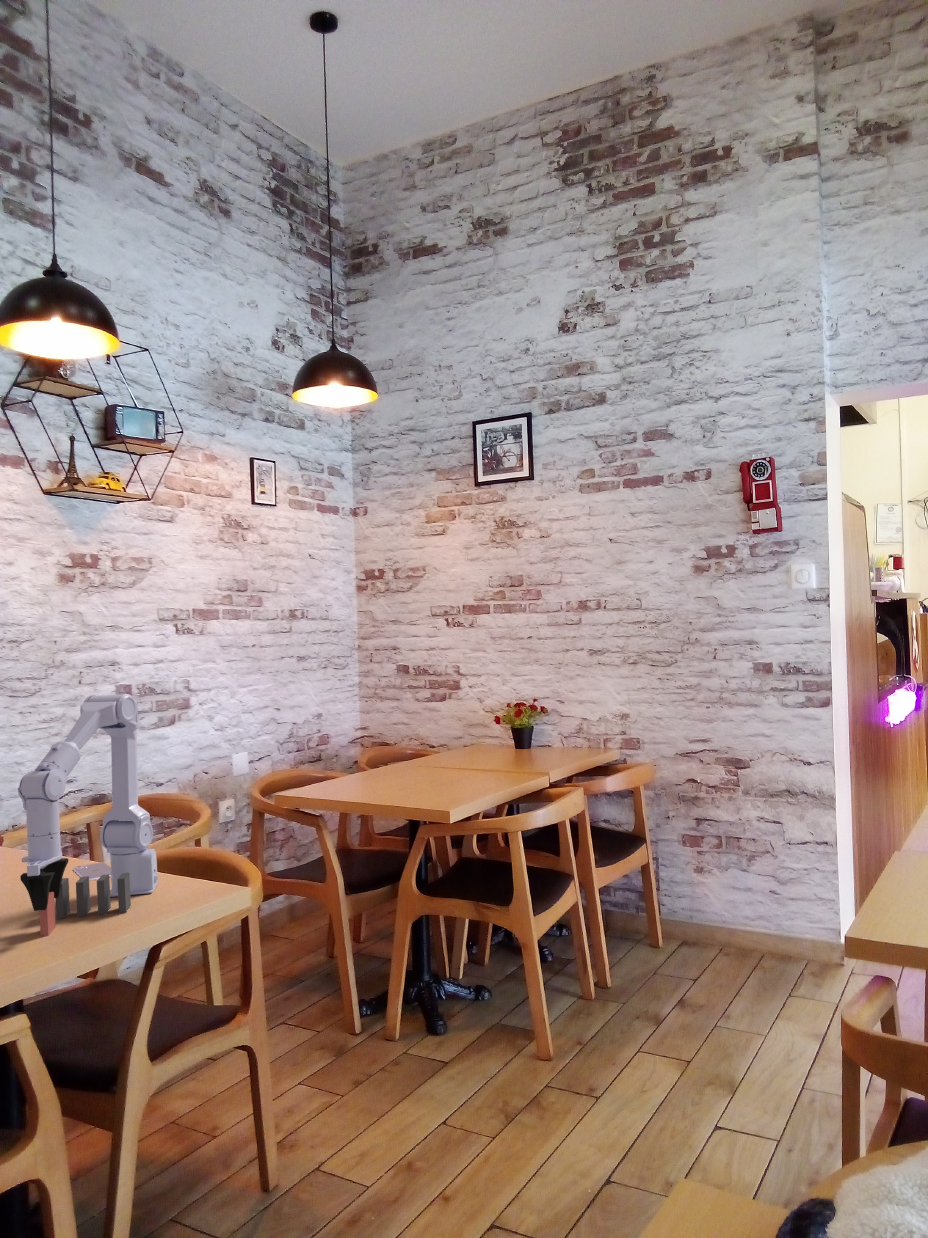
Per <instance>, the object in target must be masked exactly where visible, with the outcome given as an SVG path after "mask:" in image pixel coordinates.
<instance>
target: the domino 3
mask: <svg viewBox="0 0 928 1238" xmlns="http://www.w3.org/2000/svg"><path fill="white" fill-rule="evenodd" d="M110 880H111V879H110V877H109V874H108V875H102V876H101V877H100V878H99V879H98V880H96V893H97V894H96V896H97V915H99V916H106V915H107V914H108V912H109V911H110V910H109V909H111V897H110V890H111V883H110ZM108 910H109V911H108ZM106 913H107V914H106ZM105 914H106V915H105Z"/></svg>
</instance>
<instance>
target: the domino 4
mask: <svg viewBox="0 0 928 1238" xmlns="http://www.w3.org/2000/svg"><path fill="white" fill-rule="evenodd" d="M117 883H118V896H117V900H118V903H117V904H118V905H117V906H118V914H119V913H120V914H126V913H127V912H128V911H129V910H130V909H131V907H132V903H131V902H132V901H131V895H130V876H129V873H122V874H121V875H120V877H119V878H118V879H117ZM130 906H131V907H130ZM128 909H129V910H128ZM127 910H128V911H127Z"/></svg>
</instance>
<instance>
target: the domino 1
mask: <svg viewBox="0 0 928 1238" xmlns="http://www.w3.org/2000/svg"><path fill="white" fill-rule="evenodd" d="M69 883H70V880H69V877H64V878H63V877H62V882H61V888H60V893H59V897H58V898H54V902H55V921H56V920H65V918H66V917H67V916H68V915H69V914H70V913H71V905H70V884H69Z"/></svg>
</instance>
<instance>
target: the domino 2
mask: <svg viewBox="0 0 928 1238" xmlns="http://www.w3.org/2000/svg"><path fill="white" fill-rule="evenodd" d="M90 892H91V891H90V881H89V876H85V877H80V878H79V879H78V880H77V881H76V882H75V893H76V894H75V895H76V916H77V918H85V917H86V916H87V915H88V913H89V912H90V911H91V895H90Z"/></svg>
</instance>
